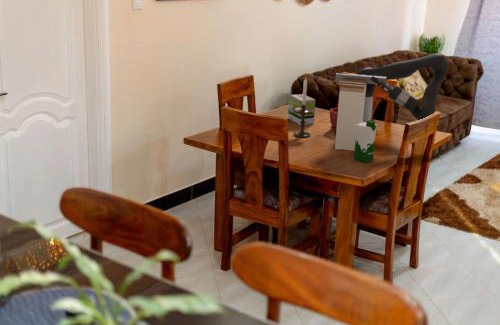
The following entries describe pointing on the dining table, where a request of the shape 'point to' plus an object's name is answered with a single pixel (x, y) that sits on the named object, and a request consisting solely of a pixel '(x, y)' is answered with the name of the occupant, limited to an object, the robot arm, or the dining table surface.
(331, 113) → the plant pot
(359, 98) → the stand
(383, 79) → the steel bar
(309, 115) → the tea box
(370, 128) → the milk carton
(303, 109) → the candlestick
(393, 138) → the dining table surface
